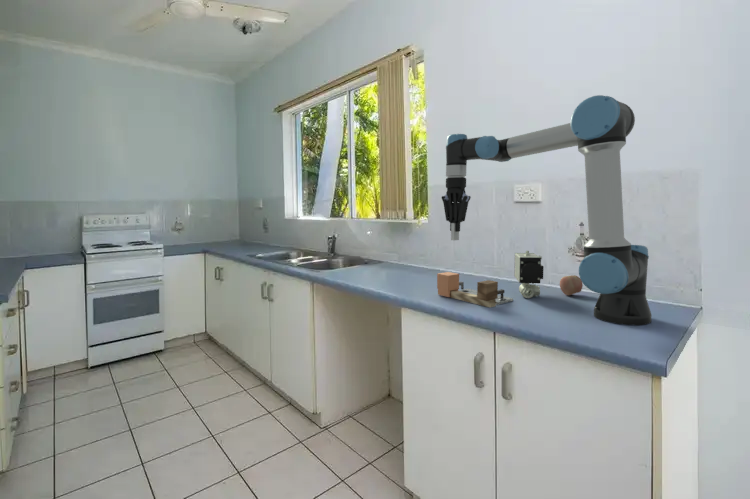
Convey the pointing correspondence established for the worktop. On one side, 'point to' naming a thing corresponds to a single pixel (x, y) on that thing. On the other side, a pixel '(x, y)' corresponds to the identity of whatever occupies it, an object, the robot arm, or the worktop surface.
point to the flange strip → (498, 300)
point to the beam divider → (480, 294)
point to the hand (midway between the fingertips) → (454, 240)
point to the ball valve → (528, 273)
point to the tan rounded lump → (570, 284)
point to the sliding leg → (448, 283)
